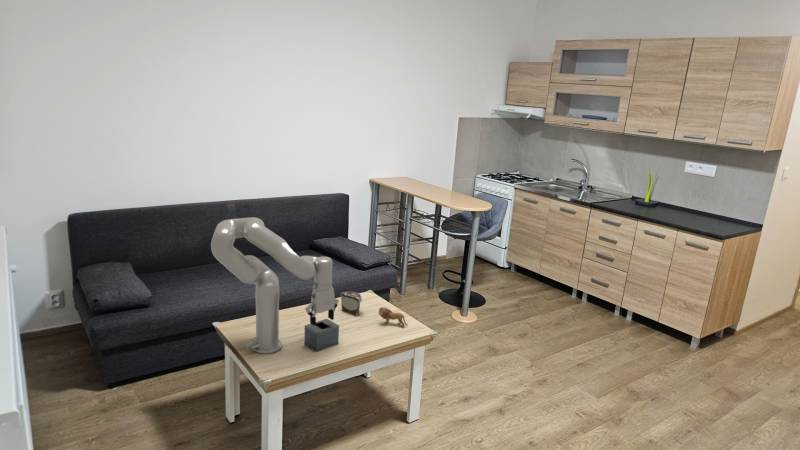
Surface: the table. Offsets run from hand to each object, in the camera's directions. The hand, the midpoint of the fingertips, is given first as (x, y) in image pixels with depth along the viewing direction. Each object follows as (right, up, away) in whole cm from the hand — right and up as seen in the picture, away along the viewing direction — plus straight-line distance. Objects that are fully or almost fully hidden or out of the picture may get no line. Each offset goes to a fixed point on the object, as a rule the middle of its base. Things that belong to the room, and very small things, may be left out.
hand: (322, 321), depth 231 cm
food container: (+10, -2, +38) cm, 39 cm away
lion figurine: (+30, -7, +26) cm, 41 cm away
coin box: (-1, -11, +3) cm, 11 cm away
